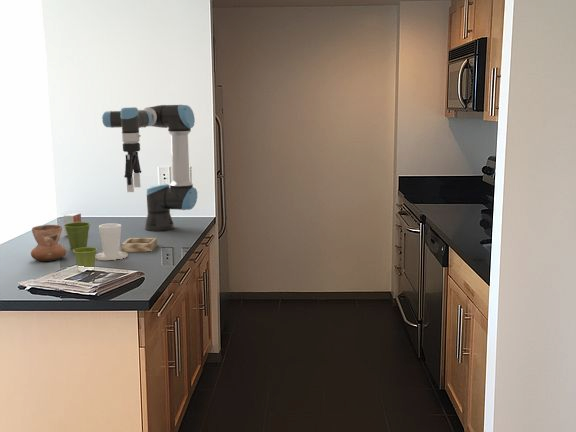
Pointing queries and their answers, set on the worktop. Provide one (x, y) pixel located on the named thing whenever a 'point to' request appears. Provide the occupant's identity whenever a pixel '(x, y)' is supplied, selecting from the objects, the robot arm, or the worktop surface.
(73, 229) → the plant pot
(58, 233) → the ceramic jug
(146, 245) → the holder
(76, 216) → the small box
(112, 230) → the foam cup
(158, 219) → the robot arm
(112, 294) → the worktop surface
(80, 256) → the plant pot
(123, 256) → the disc
